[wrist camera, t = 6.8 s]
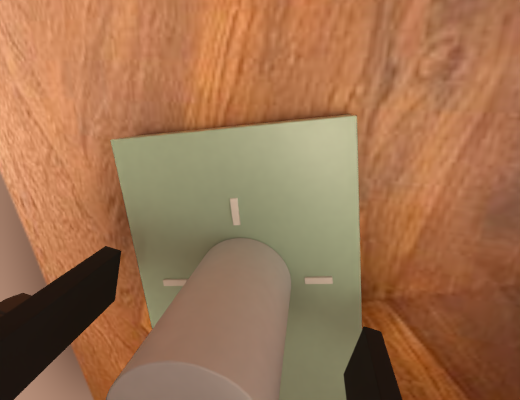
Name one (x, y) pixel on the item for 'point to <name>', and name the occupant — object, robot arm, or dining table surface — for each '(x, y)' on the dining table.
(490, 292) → the dining table surface
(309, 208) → the dial panel
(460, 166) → the dining table surface
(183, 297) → the knob
